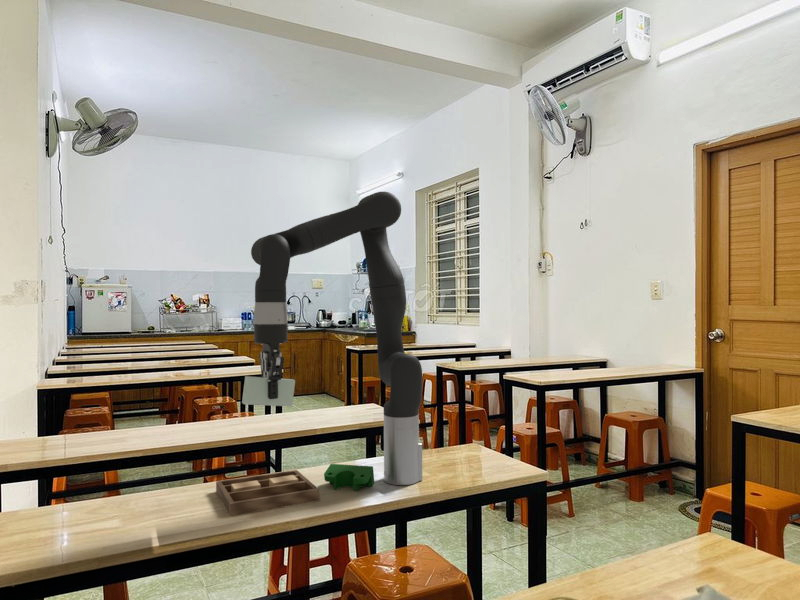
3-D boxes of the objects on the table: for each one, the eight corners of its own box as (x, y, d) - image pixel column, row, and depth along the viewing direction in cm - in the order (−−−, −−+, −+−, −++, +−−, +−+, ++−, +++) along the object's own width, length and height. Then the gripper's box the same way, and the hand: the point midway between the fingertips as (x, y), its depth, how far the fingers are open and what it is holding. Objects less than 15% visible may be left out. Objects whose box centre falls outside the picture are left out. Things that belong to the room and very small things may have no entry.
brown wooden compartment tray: (296, 483, 144) (296, 469, 144) (319, 504, 128) (319, 489, 128) (216, 495, 135) (216, 481, 135) (230, 520, 119) (229, 504, 119)
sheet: (241, 402, 126) (289, 404, 131) (244, 404, 124) (292, 406, 129) (245, 376, 126) (292, 379, 131) (247, 377, 124) (295, 380, 129)
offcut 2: (293, 487, 138) (293, 474, 138) (298, 491, 134) (298, 479, 134) (269, 490, 135) (269, 478, 135) (273, 495, 132) (273, 482, 132)
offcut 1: (256, 492, 134) (256, 480, 134) (260, 497, 130) (260, 484, 130) (231, 496, 131) (231, 484, 131) (234, 502, 128) (234, 488, 128)
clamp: (333, 509, 137) (316, 478, 136) (341, 496, 143) (325, 465, 142) (374, 495, 133) (357, 463, 132) (381, 482, 139) (365, 451, 138)
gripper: (295, 322, 123) (296, 400, 123) (279, 321, 136) (279, 392, 135) (261, 323, 120) (262, 403, 120) (247, 322, 132) (248, 395, 132)
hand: (271, 397), depth 128 cm, fingers closed on sheet, 2 cm apart
